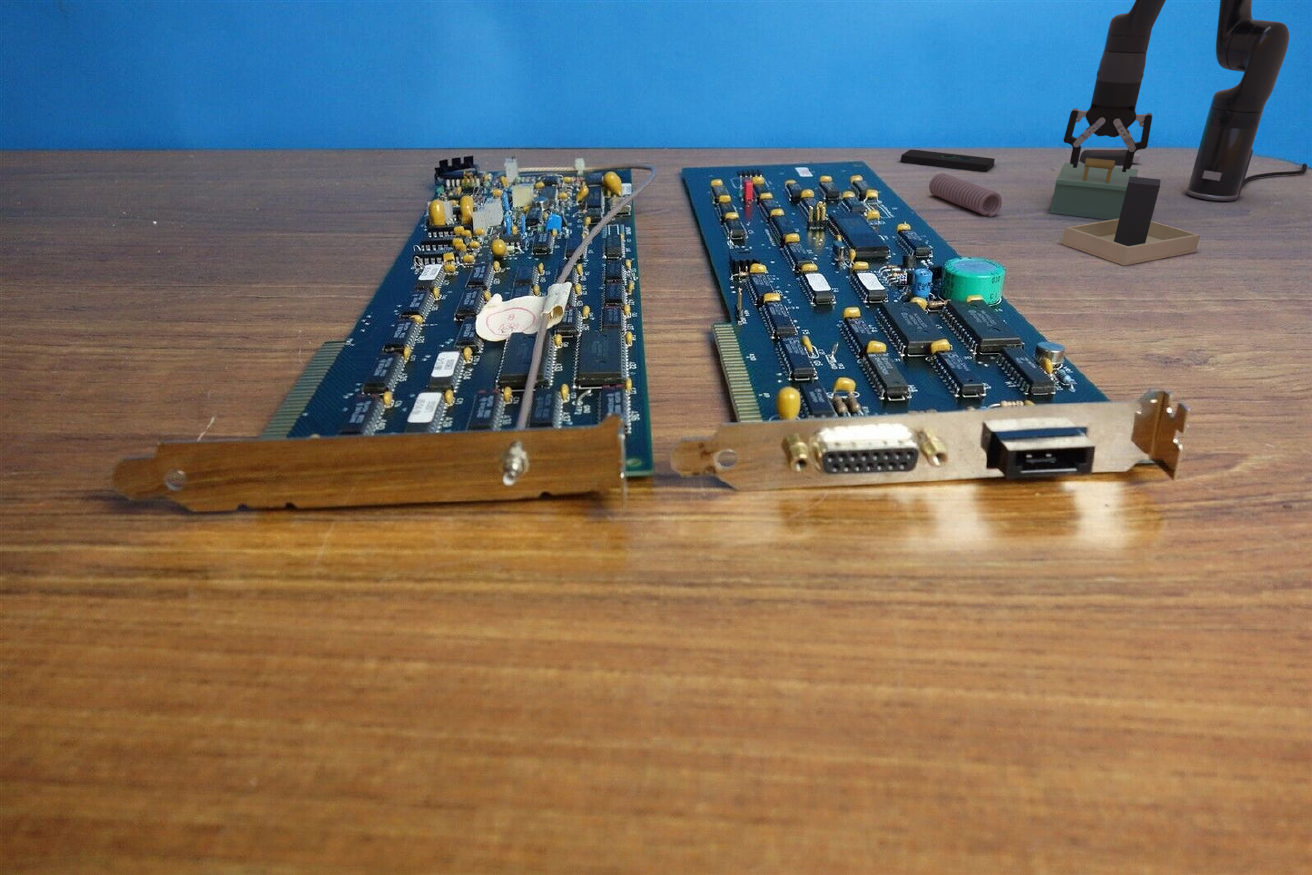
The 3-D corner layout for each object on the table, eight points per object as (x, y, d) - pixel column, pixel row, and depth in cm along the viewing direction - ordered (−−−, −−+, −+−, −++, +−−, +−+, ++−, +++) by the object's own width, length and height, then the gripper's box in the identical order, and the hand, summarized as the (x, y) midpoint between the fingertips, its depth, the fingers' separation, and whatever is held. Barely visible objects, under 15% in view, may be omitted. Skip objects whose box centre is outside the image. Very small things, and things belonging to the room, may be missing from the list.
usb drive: (1079, 160, 223) (1081, 148, 221) (1130, 160, 222) (1133, 148, 221) (1087, 164, 218) (1090, 152, 217) (1139, 165, 218) (1142, 153, 217)
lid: (1133, 191, 172) (1140, 165, 170) (1055, 183, 177) (1060, 158, 175) (1137, 173, 185) (1143, 148, 183) (1064, 166, 190) (1069, 142, 188)
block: (1143, 250, 158) (1160, 185, 153) (1112, 247, 160) (1128, 182, 154) (1144, 243, 162) (1160, 179, 156) (1114, 239, 164) (1129, 176, 158)
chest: (1126, 221, 175) (1133, 190, 173) (1049, 213, 181) (1055, 183, 178) (1129, 202, 188) (1137, 173, 185) (1058, 195, 193) (1064, 166, 190)
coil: (1006, 193, 177) (949, 172, 191) (986, 192, 175) (930, 171, 190) (999, 217, 179) (943, 195, 194) (980, 217, 177) (925, 194, 192)
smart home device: (987, 164, 210) (900, 154, 219) (986, 172, 211) (899, 162, 220) (995, 157, 217) (910, 148, 225) (994, 165, 217) (910, 155, 226)
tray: (1130, 232, 169) (1135, 215, 168) (1195, 252, 159) (1200, 234, 158) (1061, 244, 163) (1065, 227, 161) (1124, 265, 152) (1128, 247, 151)
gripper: (1163, 77, 168) (1141, 168, 176) (1078, 73, 174) (1060, 161, 181) (1162, 83, 162) (1139, 177, 170) (1075, 78, 168) (1056, 169, 176)
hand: (1099, 169), depth 176 cm, fingers open, 8 cm apart
